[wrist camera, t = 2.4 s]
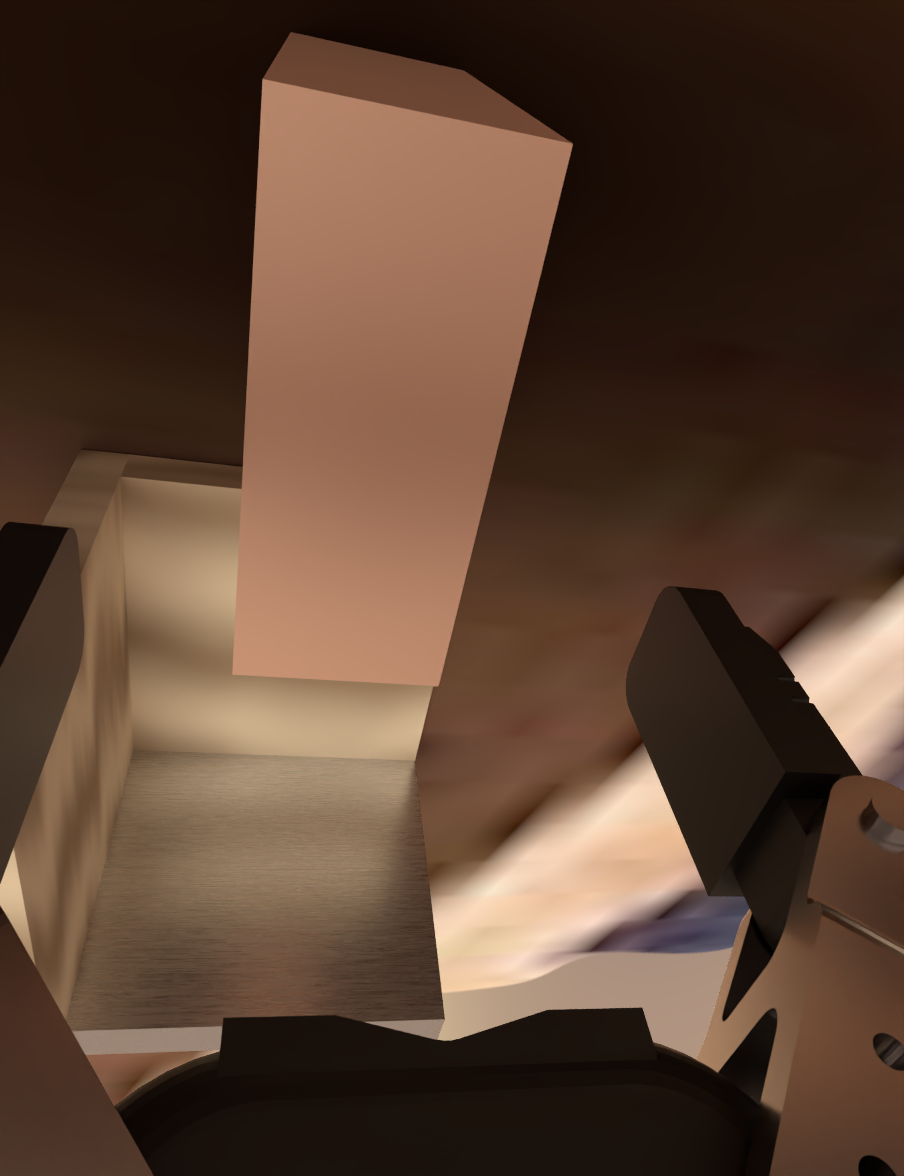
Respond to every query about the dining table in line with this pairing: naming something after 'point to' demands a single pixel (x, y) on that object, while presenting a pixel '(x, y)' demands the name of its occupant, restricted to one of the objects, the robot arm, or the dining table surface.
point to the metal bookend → (258, 901)
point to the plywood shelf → (162, 684)
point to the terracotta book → (379, 353)
